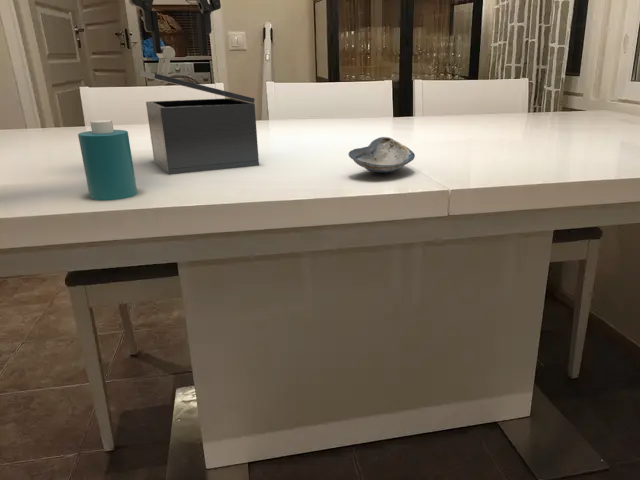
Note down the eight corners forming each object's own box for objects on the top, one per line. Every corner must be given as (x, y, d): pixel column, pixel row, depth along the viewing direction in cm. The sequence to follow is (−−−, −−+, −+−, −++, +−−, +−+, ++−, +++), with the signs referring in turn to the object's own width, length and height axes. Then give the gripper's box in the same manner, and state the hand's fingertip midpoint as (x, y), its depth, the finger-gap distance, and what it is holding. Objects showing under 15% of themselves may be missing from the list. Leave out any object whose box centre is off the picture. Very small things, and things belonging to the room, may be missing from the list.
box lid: (154, 78, 89) (159, 42, 87) (140, 75, 100) (144, 43, 99) (254, 103, 98) (260, 70, 96) (230, 97, 109) (235, 68, 108)
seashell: (332, 166, 101) (332, 138, 99) (397, 162, 105) (397, 135, 103) (356, 184, 88) (356, 152, 86) (429, 179, 91) (431, 148, 89)
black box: (169, 175, 95) (160, 107, 91) (154, 161, 106) (145, 101, 102) (259, 166, 102) (254, 103, 98) (236, 154, 113) (231, 98, 109)
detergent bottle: (92, 203, 77) (77, 124, 73) (88, 193, 82) (74, 119, 78) (140, 197, 80) (129, 121, 76) (133, 188, 85) (122, 117, 81)
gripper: (222, -89, 95) (231, 54, 104) (94, -107, 86) (115, 52, 94) (235, -99, 89) (244, 55, 97) (99, -119, 80) (121, 52, 88)
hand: (181, 53), depth 96 cm, fingers open, 7 cm apart
